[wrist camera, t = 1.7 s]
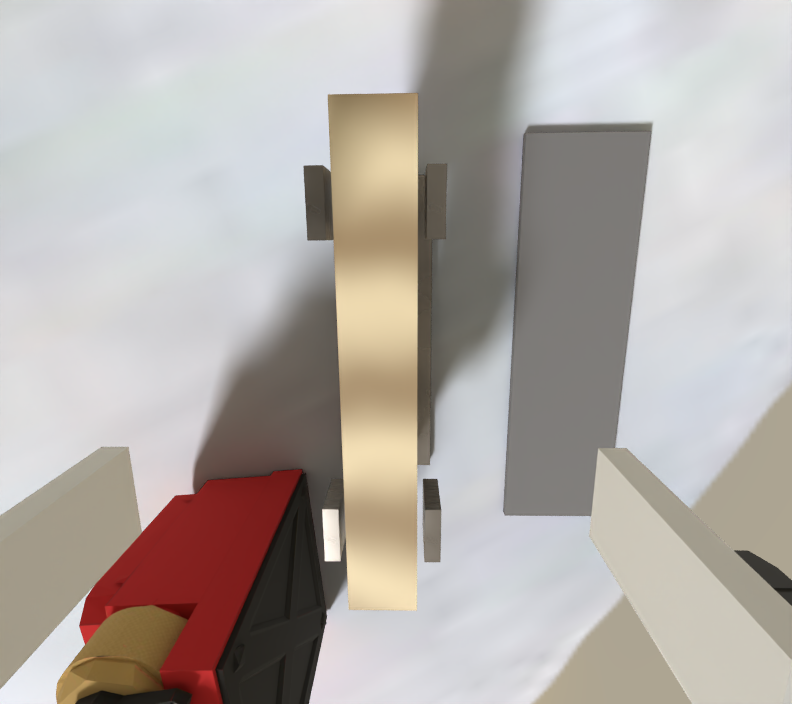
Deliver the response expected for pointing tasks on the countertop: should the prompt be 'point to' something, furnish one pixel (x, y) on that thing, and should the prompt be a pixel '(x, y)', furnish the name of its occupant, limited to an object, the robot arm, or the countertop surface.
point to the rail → (377, 339)
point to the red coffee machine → (208, 603)
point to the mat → (571, 313)
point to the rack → (428, 228)
